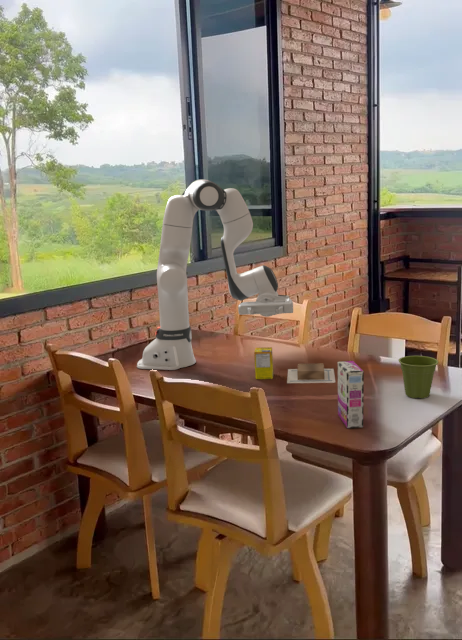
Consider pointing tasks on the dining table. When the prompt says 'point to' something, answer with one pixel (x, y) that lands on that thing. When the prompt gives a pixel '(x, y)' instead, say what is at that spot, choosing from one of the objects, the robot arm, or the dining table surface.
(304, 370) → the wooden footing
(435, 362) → the plant pot
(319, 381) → the blueprint board
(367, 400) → the dining table surface
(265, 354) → the supplement box
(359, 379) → the candy bar box
